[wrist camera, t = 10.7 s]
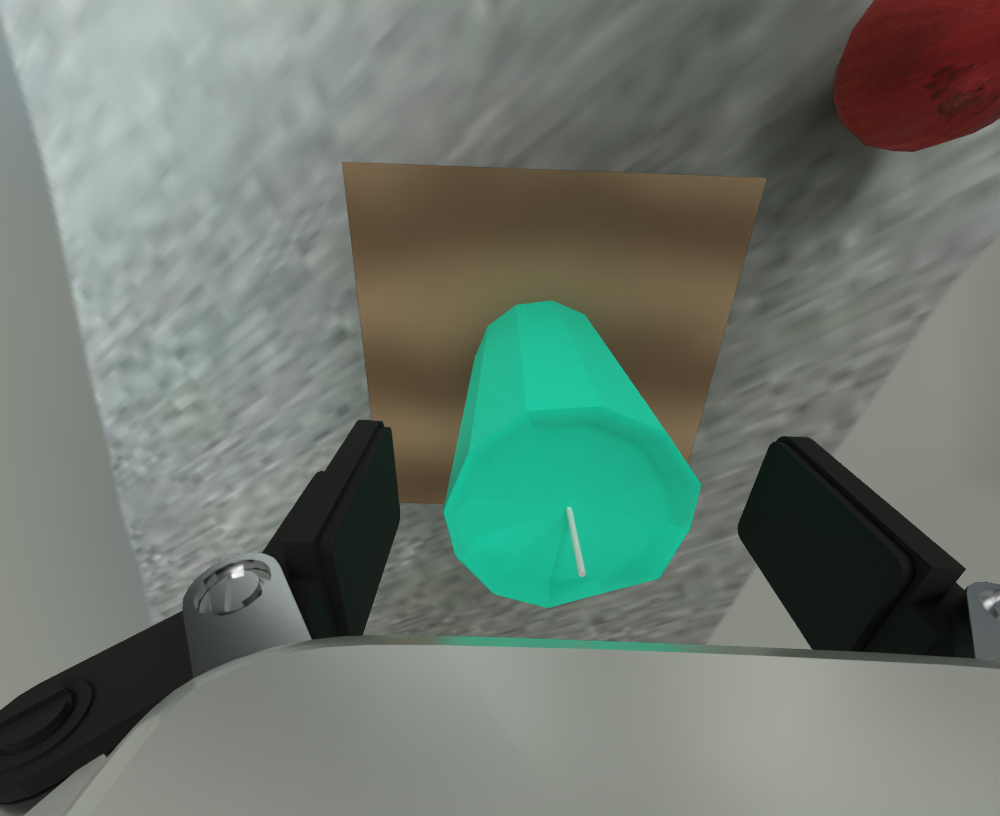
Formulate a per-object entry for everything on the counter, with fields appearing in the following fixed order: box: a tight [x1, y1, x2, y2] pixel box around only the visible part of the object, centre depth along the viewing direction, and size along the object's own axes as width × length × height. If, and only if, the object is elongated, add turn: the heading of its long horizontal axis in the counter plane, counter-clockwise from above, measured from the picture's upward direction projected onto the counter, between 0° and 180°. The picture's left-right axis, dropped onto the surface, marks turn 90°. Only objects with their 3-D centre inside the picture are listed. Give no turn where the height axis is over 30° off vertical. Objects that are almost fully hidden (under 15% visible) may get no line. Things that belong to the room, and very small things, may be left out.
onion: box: [833, 0, 1000, 152], centre depth 14 cm, size 6×6×8 cm
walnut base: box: [342, 162, 767, 504], centre depth 21 cm, size 16×16×4 cm
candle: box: [443, 300, 701, 608], centre depth 14 cm, size 6×6×12 cm
